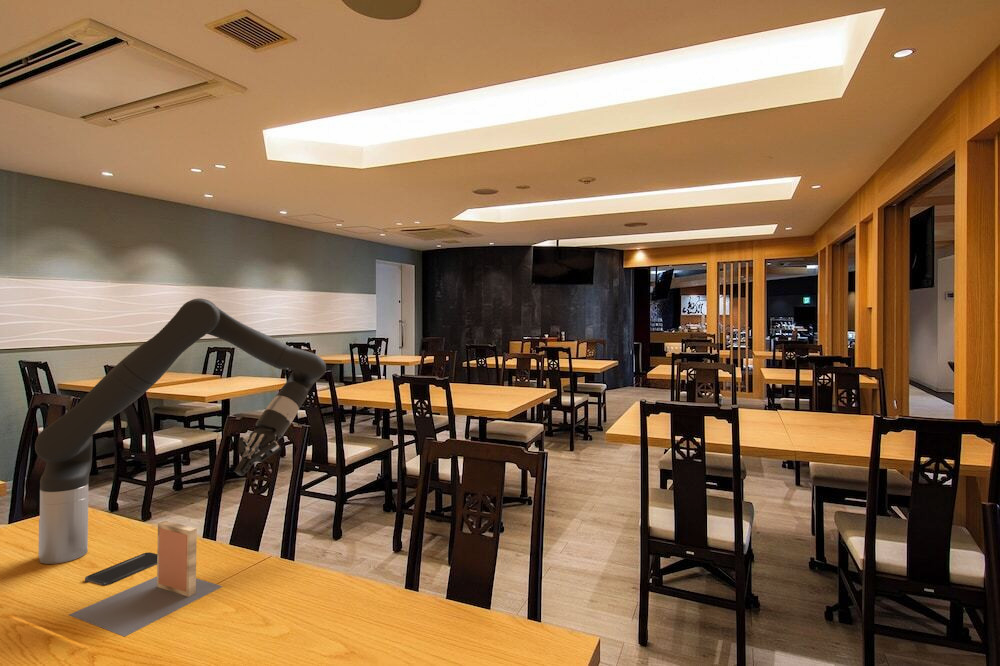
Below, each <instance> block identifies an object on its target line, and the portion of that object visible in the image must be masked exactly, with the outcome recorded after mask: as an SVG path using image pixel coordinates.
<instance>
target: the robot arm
mask: <svg viewBox="0 0 1000 666" xmlns="http://www.w3.org/2000/svg"><path fill="white" fill-rule="evenodd" d="M206 335H209V336H212V337H216V338H218V339H221V340H223V341H225V342H228V343H230V344H231V345H233V346H235V347H237V348H238V349H240V350H241V351H244V352H245V353H246V354H248V355H250V356H251V357H253V358H255V359H257V360H258V361H261V362H262V363H264V364H266V365H269V366H271V367H274V368H275V369H277V370H286V369H289V370H292V371H291V373H290V375H289V377H288V379H286V382H285V384H284V385H283V386H281V389H279V391H278V392H277V394H276V395H275V397H274V398H273V399H272V400H271V401H270V403H269V404H268V405H267V407H266V408H265V410H264V411H263V412H262V413H261V415H260V416H259V417H258V420H256V422H255V429H254V430H253V431H251V432H250V434H249V435H248V436H247V437H243V436H241V437H239V438H238V447H237V449H238V451H237V453H238V455H239V457H240V458H241V459H240V461H239V462H238V463H237V466H235V469H234V472H235V473H236V475H238V476H242V477H243V476H245V475H246V474H247V473H248V472H249V470H250V469H251V468H252V466H253V465H254V464H256V463H258V462H259V463H262V462H263V461H265V460H267V459H268V458H270V457H271V456H273V455H274V454H276V453H278V452H279V451H280V450H281V446H280V445H279V443H278V441H279V440H280V439H281V438H283V436H284V435H285V433H286V432H287V430H288V429H289V427H290V426H291V425H292V422H293V421H294V419H295V418H296V416H297V414H298V412H299V410H300V408H301V407H302V405H303V404H304V403H305V401H306V400H307V397H308V395H309V394H308V393H309V391H310V390H311V389H312V387H313V385H314V384H315V383H316V382H317V381H318V380H319V379H321V378H322V377H323V376H324V375H325V374H326V370H327V364H326V363H325V360H324V359H323V358H321V357H320V356H319V355H318V354H316V353H314V352H310V351H307V350H303V349H301V348H297V347H296V348H295V347H291V346H290V345H287V344H286V343H284V342H282V341H280V340H277V339H276V338H274V337H272V336H270V335H268V334H265V333H263V332H261V331H259V330H256V329H254V328H253V327H250V326H248V325H246V324H244V323H242V322H241V321H239V320H237V319H236V318H234V317H232V316H231V315H229V314H228V313H226V312H225V311H223V310H222V309H221V308H219V307H218V306H217V305H216V304H215V303H213V302H212V301H211V300H209V299H205V298H193V299H191V300H188V301H187V302H185V303H184V304H183V305H182V306H181V307H180V308H179V310H178V311H177V312H176V313H175V314H174V316H173V317H172V318H171V319H170V320H169V321H168V322H167V323H166V325H164V326H163V328H161V329H160V330H159V331H158V332H157V333H156V334H155V335H154V336H153V337H151V338H149V339H148V340H147V341H145V342H144V343H142V344H140V346H138V347H136V349H134V350H133V351H131V352H130V353H129V354H127V355H126V356H125V357H124V358H123V359H122V360H121V361H119V363H117V364H116V365H115V366H114V367H113V368H112V369H110V371H108V372H107V374H106V375H105V376H103V377H102V378H101V380H99V381H98V382H97V383H96V385H95V386H93V388H92V389H91V390H90V391H89V392H88V393H87V394H86V395H85V396H84V397H83V398H82V399H81V400H80V401H79V402H78V403H77V404H76V405H75V406H74V407H72V408H71V409H70V410H68V411H67V412H65V413H64V414H63V415H62V416H60V417H59V418H58V419H56V420H55V421H54V422H52V423H51V424H50V425H48V426H46V427H44V428H43V430H41V431H40V432H39V434H38V435H37V437H36V440H35V443H34V451H35V453H36V455H37V456H38V458H40V459H41V460H43V461H45V467H44V468H45V469H44V471H43V473H42V475H41V477H40V480H39V519H38V558H39V560H38V561H39V563H41V564H45V565H46V564H47V565H51V564H52V565H53V564H54V565H55V564H62V563H67V562H71V561H74V560H76V559H79V558H81V557H84V556H85V555H86V554H87V553H88V551H89V549H88V545H89V544H88V543H89V541H88V540H89V478H90V473H91V469H92V464H93V443H94V442H93V435H94V434H96V432H98V431H99V429H100V428H101V427H102V426H103V425H105V424H106V423H107V422H108V421H110V420H111V419H112V418H113V417H115V416H116V415H118V414H119V413H121V412H122V411H123V410H126V408H128V407H129V406H130V405H131V404H133V403H134V402H136V401H137V400H138V399H139V398H141V397H142V396H143V395H144V394H145V393H146V392H148V391H149V389H151V388H152V387H153V386H154V385H155V384H156V383H157V382H158V381H159V380H160V379H161V378H162V377H163V376H164V375H165V374H166V372H167V371H169V369H170V368H171V367H172V366H173V365H174V363H175V362H176V360H177V359H178V358H179V357H180V356H181V355H182V354H183V353H184V352H185V351H187V349H189V348H190V347H191V346H193V345H194V344H195V343H197V342H198V341H199V340H200V339H202V338H203V337H205V336H206Z"/></svg>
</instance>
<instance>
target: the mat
mask: <svg viewBox="0 0 1000 666" xmlns="http://www.w3.org/2000/svg"><path fill="white" fill-rule="evenodd" d="M222 587H223V588H224V586H223V585H221V584H217V583H213V582H209V581H207V580H203V579H199V578H197V577H196V594H194V595H192V596H190V597H188V596H185V595H181V594H178V593H175V592H172V591H169V590H166V589H163V588H159V587H157V576H155V577H153V578H152V577H151V578H150V579H148V580H145V581H143V582H141V583H139V584H137V585H135V586H132V587H129V588H127V589H125V590H123V591H120V592H118V593H116V594H113V595H111V596H109V597H106V598H104V599H102V600H98V601H97V602H95V603H92V604H90V605H88V606H85V607H83V608H82V609H81V608H80V609H79V610H76V611H74V612H72V613H69V614H68V616H70V617H72V618H74V619H77V620H80V621H83V622H86V623H89V625H90V624H91V625H93V626H95V627H98V628H101V629H104V630H107V631H109V632H111V633H114V634H117V635H119V636H122V637H127V636H129V635H131V634H134V633H135V632H136V631H138V630H140V629H143V628H145V627H147V626H148V625H151V624H152V623H154V622H156V621H159V620H160V619H162V618H164V617H166V616H169V615H170V614H173V613H174V612H176V611H178V610H179V609H181V608H184V607H186V606H188V605H190V604H191V603H193V602H196V601H197V600H199V599H201V598H203V597H206V596H208V595H209V594H212V593H213V592H215V591H217V590H219V589H221V588H222Z"/></svg>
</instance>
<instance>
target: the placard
mask: <svg viewBox="0 0 1000 666" xmlns="http://www.w3.org/2000/svg"><path fill="white" fill-rule="evenodd" d="M197 532H198V529H197V528H196V527H194V526H193V527H192V526H188V525H184V524H181V523H175V522H172V521H168V520H163V521H159V522H157V549H156V550H157V551H156V552H157V553H156V554H157V565H156V568H157V569H156V577H157V587H159V588H163V589H166V590H169V591H172V592H175V593H178V594H181V595H185V596H188V597H190V596H192V595H194V594H196V578H197V542H198V540H197V539H198V538H197V537H198V536H197V534H198V533H197Z"/></svg>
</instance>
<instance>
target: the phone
mask: <svg viewBox="0 0 1000 666" xmlns="http://www.w3.org/2000/svg"><path fill="white" fill-rule="evenodd" d="M154 566H157V553H154V552H143V553H140V554H139V555H136V556H133V557H130V558H129V559H126V560H124V561H121V562H119V563H117V564H114V565H111V566H109V567H105V568H104V569H101V570H99V571H96V572H93V573H91V574H89V575H87V576H85V578H84V582H85V583H86V584H87V583H92V584H97V585H100V586H109V585H112V584H116V583H117V582H119V581H120V582H121V580H124V579H126V578H128V577H131V576H134V575H136V574H138V573H140V572H142V571H145V570H148V569H150V568H152V567H154Z"/></svg>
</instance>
